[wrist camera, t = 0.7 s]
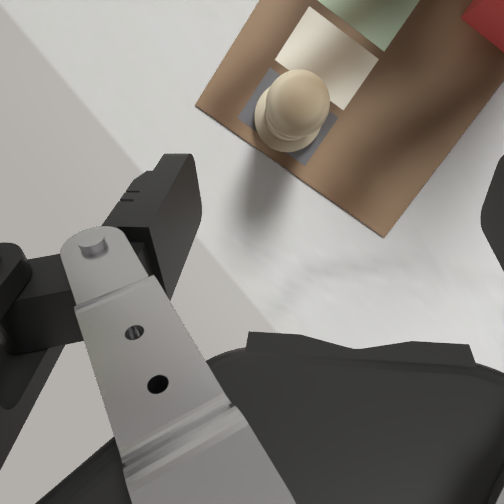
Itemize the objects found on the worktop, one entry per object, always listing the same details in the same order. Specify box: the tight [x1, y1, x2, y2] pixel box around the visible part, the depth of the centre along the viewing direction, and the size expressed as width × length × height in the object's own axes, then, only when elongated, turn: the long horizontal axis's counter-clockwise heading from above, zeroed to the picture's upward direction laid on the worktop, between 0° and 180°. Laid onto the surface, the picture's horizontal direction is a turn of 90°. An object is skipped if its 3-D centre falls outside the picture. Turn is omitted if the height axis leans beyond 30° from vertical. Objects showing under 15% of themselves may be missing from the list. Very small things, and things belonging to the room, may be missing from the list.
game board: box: [195, 0, 504, 237], centre depth 33 cm, size 20×22×1 cm
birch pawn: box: [255, 70, 330, 152], centre depth 29 cm, size 6×6×10 cm
